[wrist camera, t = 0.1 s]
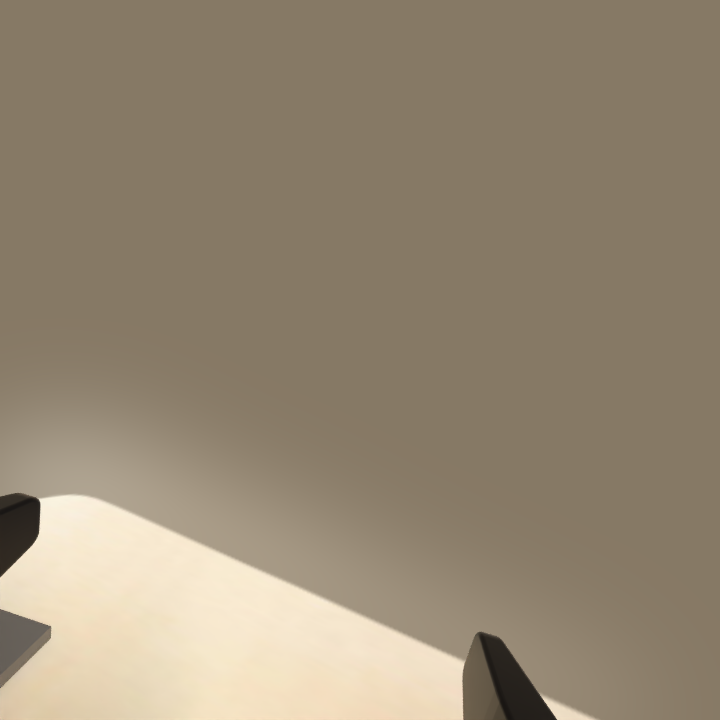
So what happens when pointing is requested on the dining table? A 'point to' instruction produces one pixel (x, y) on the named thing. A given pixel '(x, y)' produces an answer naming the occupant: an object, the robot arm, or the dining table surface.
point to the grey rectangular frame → (19, 642)
